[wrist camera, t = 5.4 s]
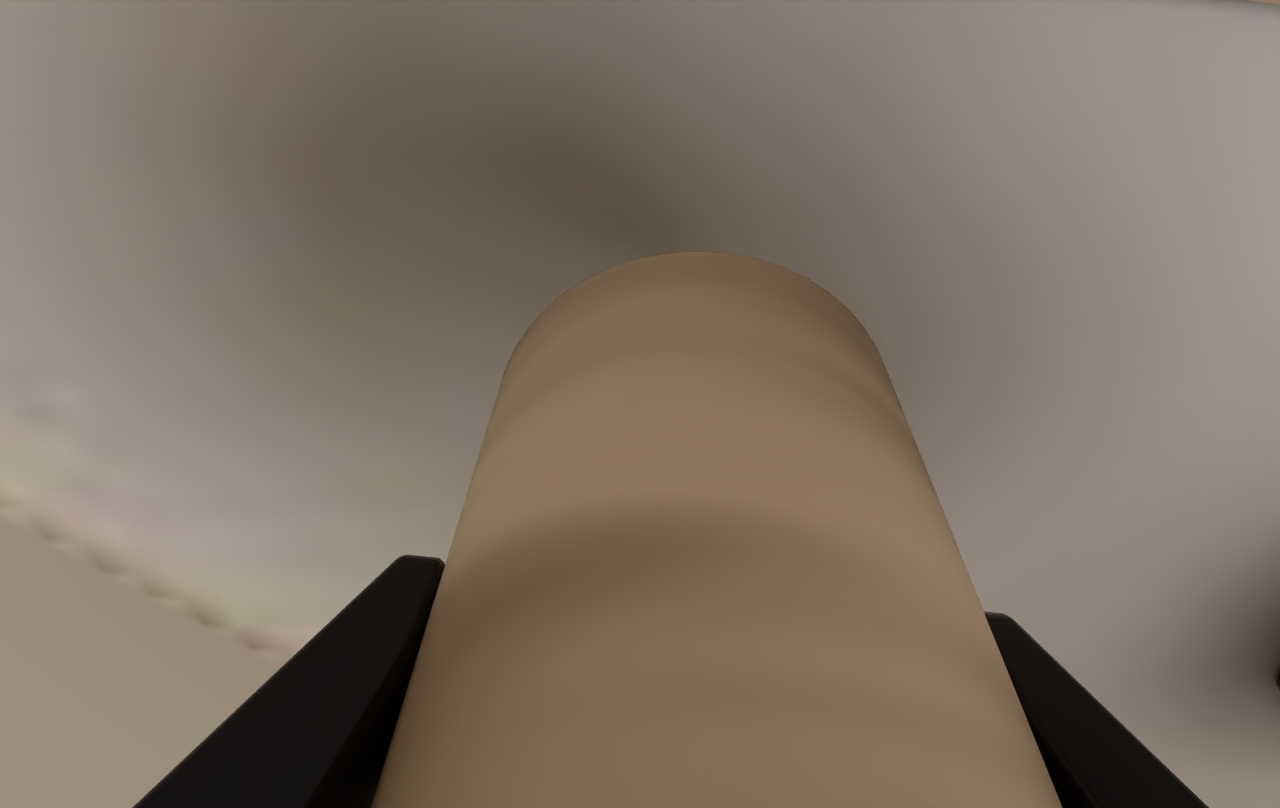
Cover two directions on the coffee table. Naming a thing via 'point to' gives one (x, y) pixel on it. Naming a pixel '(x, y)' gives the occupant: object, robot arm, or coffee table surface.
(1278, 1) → the sleeve socket
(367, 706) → the robot arm
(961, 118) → the coffee table surface
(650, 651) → the maple peg
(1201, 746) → the coffee table surface
